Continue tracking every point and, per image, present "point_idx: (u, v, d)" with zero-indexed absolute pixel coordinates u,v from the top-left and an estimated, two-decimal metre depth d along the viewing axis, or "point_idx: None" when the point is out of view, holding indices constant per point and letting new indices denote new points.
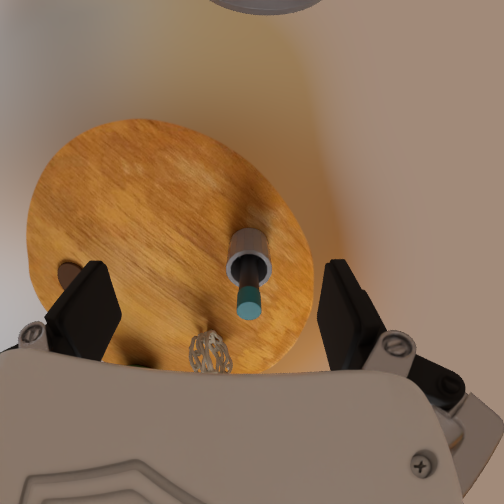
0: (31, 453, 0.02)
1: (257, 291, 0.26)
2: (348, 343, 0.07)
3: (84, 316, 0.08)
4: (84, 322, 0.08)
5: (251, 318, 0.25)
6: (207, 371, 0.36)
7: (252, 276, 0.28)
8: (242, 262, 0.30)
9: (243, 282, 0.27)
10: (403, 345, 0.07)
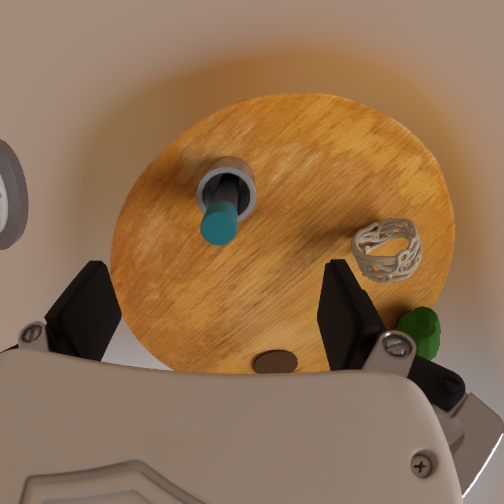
0: (31, 453, 0.02)
1: (209, 206, 0.18)
2: (348, 343, 0.07)
3: (84, 316, 0.08)
4: (84, 322, 0.08)
5: (232, 226, 0.16)
6: (395, 265, 0.24)
7: None
8: None
9: None
10: (403, 345, 0.07)
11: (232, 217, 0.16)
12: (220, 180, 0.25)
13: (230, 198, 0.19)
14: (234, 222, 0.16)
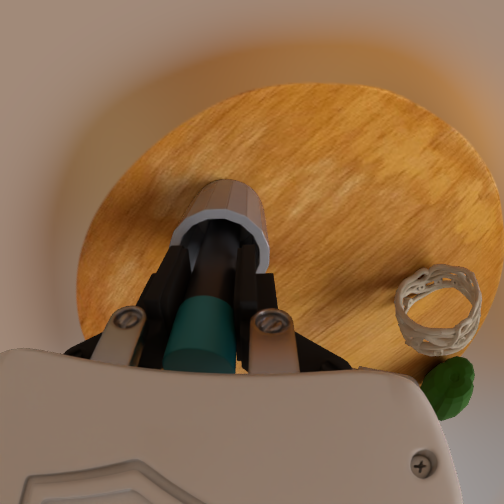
0: (31, 453, 0.02)
1: (181, 309, 0.09)
2: None
3: (177, 299, 0.09)
4: (177, 305, 0.09)
5: (227, 369, 0.07)
6: (452, 339, 0.15)
7: None
8: None
9: None
10: (277, 319, 0.08)
11: (225, 353, 0.07)
12: (210, 222, 0.16)
13: (224, 281, 0.10)
14: (230, 363, 0.07)
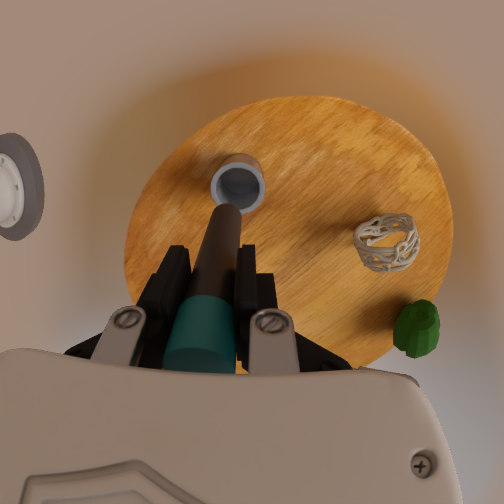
0: (31, 453, 0.02)
1: (181, 308, 0.09)
2: None
3: (177, 299, 0.09)
4: (177, 305, 0.09)
5: (227, 369, 0.07)
6: (394, 256, 0.26)
7: (190, 279, 0.11)
8: None
9: None
10: (277, 319, 0.08)
11: (225, 353, 0.07)
12: (210, 222, 0.16)
13: (224, 281, 0.10)
14: (230, 363, 0.07)
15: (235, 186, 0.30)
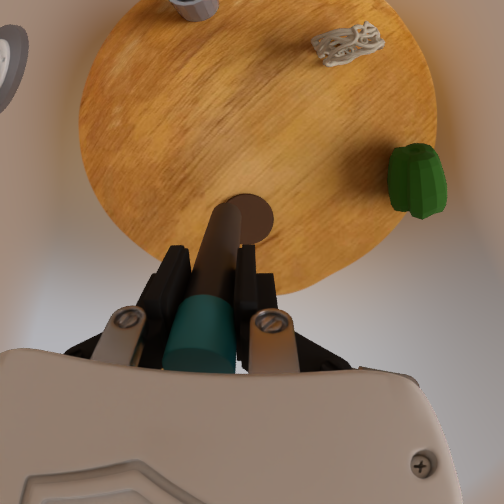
0: (31, 453, 0.02)
1: (180, 308, 0.09)
2: None
3: (177, 299, 0.09)
4: (177, 305, 0.09)
5: (227, 368, 0.07)
6: (353, 36, 0.18)
7: (189, 279, 0.11)
8: None
9: None
10: (277, 319, 0.08)
11: (225, 352, 0.07)
12: (210, 222, 0.16)
13: (224, 280, 0.10)
14: (230, 362, 0.07)
15: None
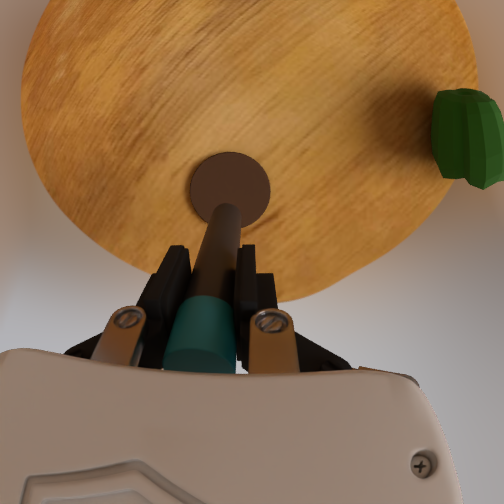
0: (31, 453, 0.02)
1: (181, 309, 0.09)
2: None
3: (177, 299, 0.09)
4: (177, 305, 0.09)
5: (227, 370, 0.07)
6: None
7: None
8: None
9: None
10: (277, 319, 0.08)
11: (226, 354, 0.07)
12: (210, 222, 0.16)
13: (224, 281, 0.10)
14: (230, 363, 0.07)
15: None
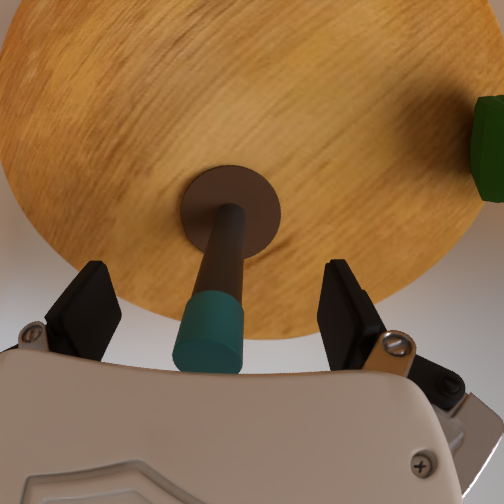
0: (31, 453, 0.02)
1: (190, 303, 0.09)
2: (348, 343, 0.07)
3: (84, 316, 0.08)
4: (84, 322, 0.08)
5: (235, 360, 0.08)
6: None
7: (197, 276, 0.12)
8: None
9: None
10: (403, 345, 0.07)
11: (233, 344, 0.08)
12: (216, 222, 0.16)
13: (231, 277, 0.11)
14: (238, 354, 0.08)
15: None
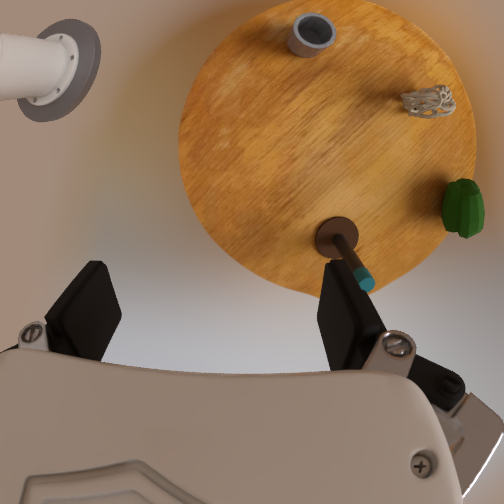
0: (31, 453, 0.02)
1: (357, 270, 0.31)
2: (348, 343, 0.07)
3: (84, 316, 0.08)
4: (84, 322, 0.08)
5: (373, 284, 0.30)
6: (439, 100, 0.24)
7: (349, 263, 0.34)
8: None
9: None
10: (403, 345, 0.07)
11: (373, 279, 0.30)
12: (340, 242, 0.38)
13: (362, 263, 0.33)
14: (374, 282, 0.30)
15: None
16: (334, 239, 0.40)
